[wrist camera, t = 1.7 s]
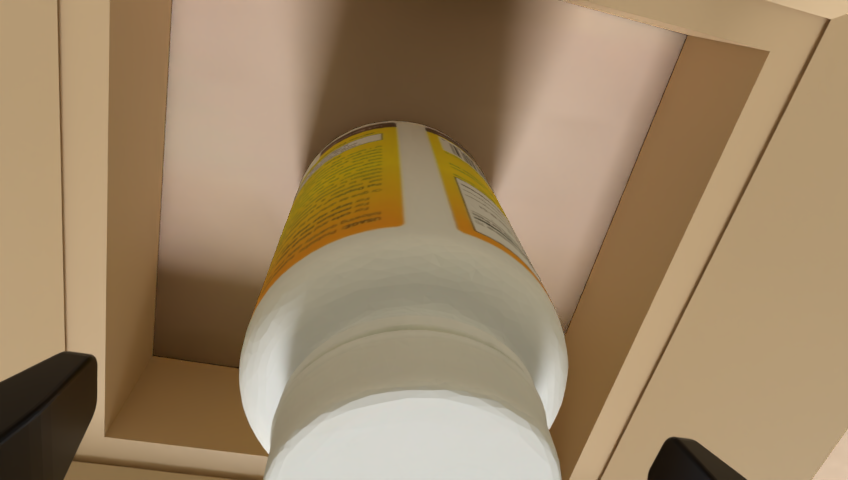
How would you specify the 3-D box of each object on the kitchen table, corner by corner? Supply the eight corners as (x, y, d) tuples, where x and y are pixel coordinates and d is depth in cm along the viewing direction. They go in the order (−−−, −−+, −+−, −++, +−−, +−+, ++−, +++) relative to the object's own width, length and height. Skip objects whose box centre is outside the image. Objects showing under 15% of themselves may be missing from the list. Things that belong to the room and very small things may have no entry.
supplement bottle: (283, 272, 17) (170, 620, 8) (318, 92, 15) (217, 282, 6) (458, 307, 18) (539, 653, 9) (515, 142, 16) (700, 375, 7)
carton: (23, 432, 19) (-135, 636, 13) (-29, -400, 11) (-523, -852, 5) (597, 501, 22) (673, 687, 17) (897, -91, 14) (1266, -138, 8)
